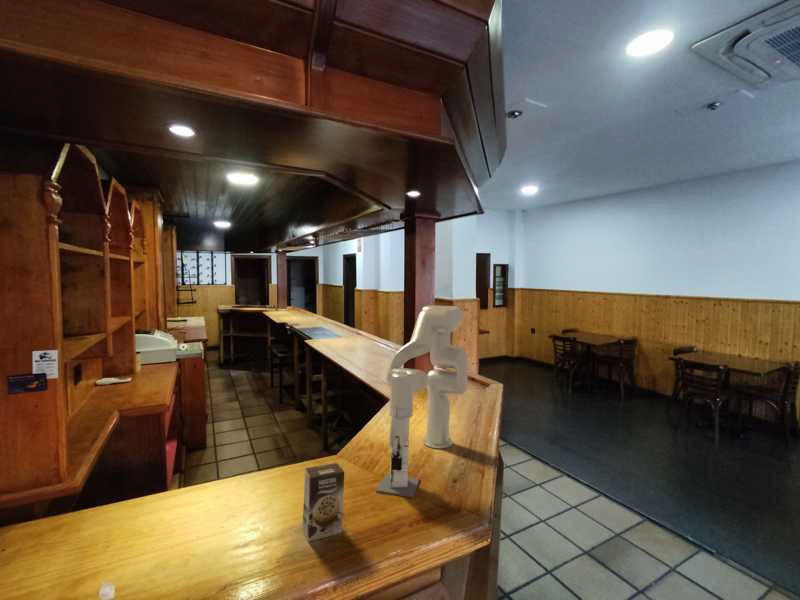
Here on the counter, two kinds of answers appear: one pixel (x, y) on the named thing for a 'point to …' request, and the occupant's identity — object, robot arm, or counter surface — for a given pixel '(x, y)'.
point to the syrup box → (401, 476)
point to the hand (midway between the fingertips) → (399, 463)
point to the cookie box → (323, 501)
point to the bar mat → (401, 491)
